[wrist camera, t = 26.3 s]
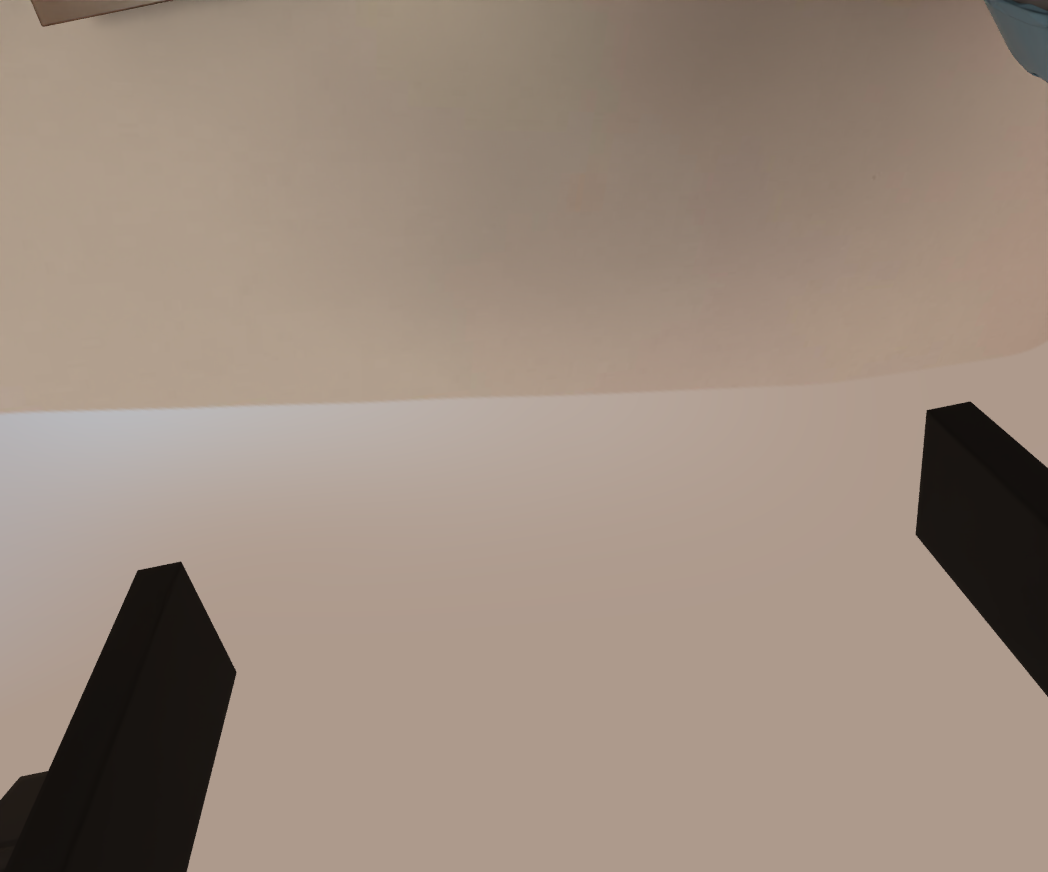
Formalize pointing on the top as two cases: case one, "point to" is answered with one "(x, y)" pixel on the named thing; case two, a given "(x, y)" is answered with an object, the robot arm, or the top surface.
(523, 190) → the top surface
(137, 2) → the wooden display riser
